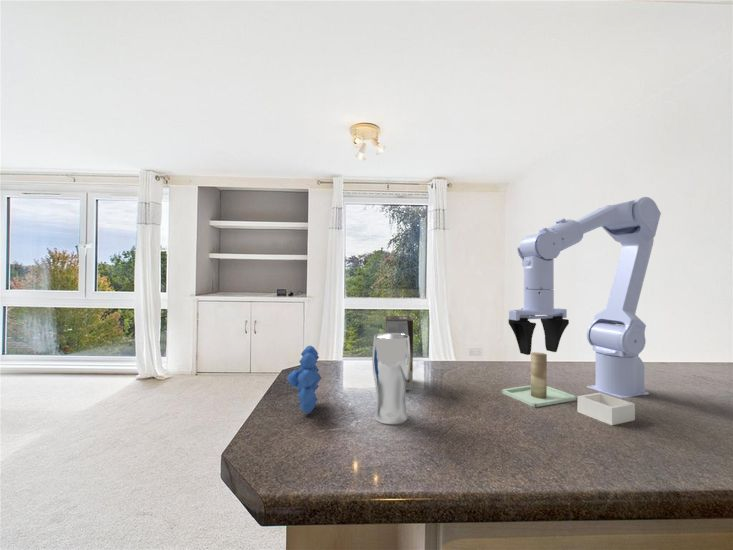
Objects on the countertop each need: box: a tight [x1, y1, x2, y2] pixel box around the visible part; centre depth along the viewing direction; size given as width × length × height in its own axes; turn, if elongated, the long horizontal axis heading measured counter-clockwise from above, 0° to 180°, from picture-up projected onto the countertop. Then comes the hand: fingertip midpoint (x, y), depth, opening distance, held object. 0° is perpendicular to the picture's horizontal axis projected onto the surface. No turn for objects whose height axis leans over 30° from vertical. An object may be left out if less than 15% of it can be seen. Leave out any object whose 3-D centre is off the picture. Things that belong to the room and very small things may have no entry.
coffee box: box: [384, 315, 414, 391], centre depth 80 cm, size 9×6×16 cm
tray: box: [500, 384, 578, 408], centre depth 71 cm, size 12×9×1 cm
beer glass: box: [371, 332, 410, 426], centre depth 61 cm, size 7×7×15 cm
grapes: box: [286, 345, 322, 414], centre depth 64 cm, size 12×7×12 cm, turn 5°
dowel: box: [530, 351, 548, 399], centre depth 71 cm, size 3×3×9 cm
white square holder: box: [576, 392, 636, 426], centre depth 61 cm, size 6×6×4 cm
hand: (538, 352), depth 71 cm, fingers open, 7 cm apart
